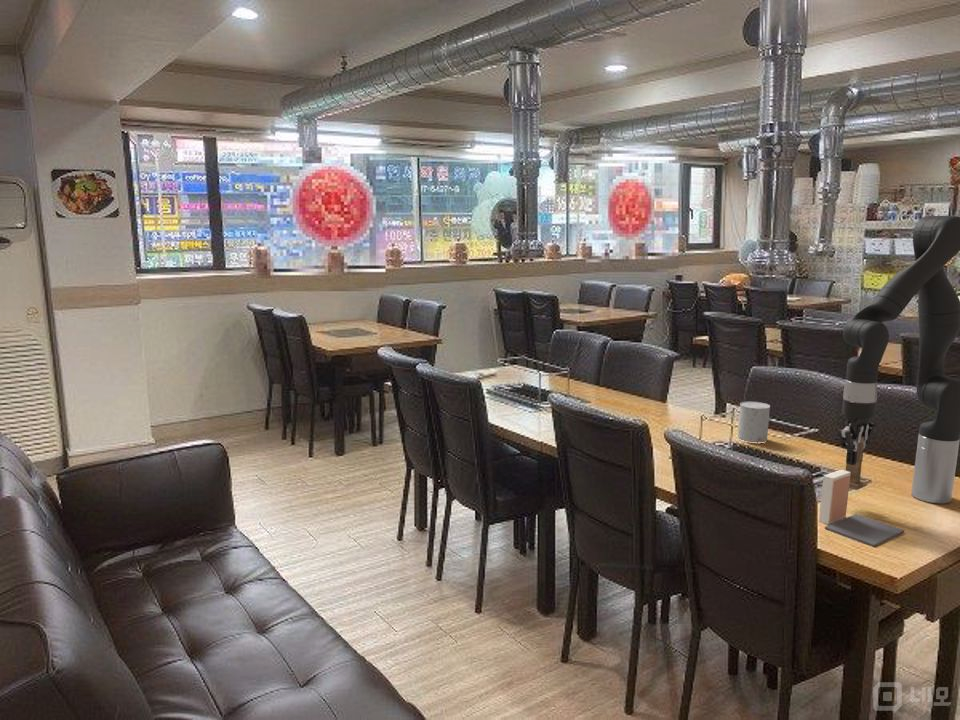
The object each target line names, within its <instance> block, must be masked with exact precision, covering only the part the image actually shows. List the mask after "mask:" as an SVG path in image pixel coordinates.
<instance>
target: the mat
mask: <svg viewBox="0 0 960 720" xmlns="http://www.w3.org/2000/svg"><path fill="white" fill-rule="evenodd" d="M824 530H828V531H829V532H832V533H835V534H839V535H841V536H843V537H846V538H848V539H852V540H854V541H857V542H860V543H862V544H865V545H868V546H871V547H873V548H875V547H876V546H878V544H879V545H880V544H883V543H884V542H887V541H890V540H891V539H893V538H895V537H897V536H900V535H902V534H904V533H905V530H904V529H901V528H899V527H896V526H892V525H890V524H886V523H884V522H881V521H877V520H876V519H872V518H870V517H867V516H863V515H861V514H858V513H854V514H853V515H850V516H848V517H845V518H843V519H841V520H838V521H836V522H834V523H831V524H829V525H826V526H824Z"/></svg>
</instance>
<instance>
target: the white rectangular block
mask: <svg viewBox="0 0 960 720" xmlns="http://www.w3.org/2000/svg"><path fill="white" fill-rule="evenodd" d="M850 474H851V472H848V471H846V469H845V470H844V469H839V470H836V471H832V472H831V473H828V474H824V475H823V477H822V486H821V497H820V498H821V499H820V506H819V507H820V508H819V516H818V522H819V523H822V524H825V525H826V526H828V525H831V524H833V523H835V522H838V521H840V520H842V519H845V518H847V517H846V516H847V510H848V509H847V508H848V501H849V490H850V488H849V483H850Z"/></svg>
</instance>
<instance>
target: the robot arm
mask: <svg viewBox="0 0 960 720" xmlns="http://www.w3.org/2000/svg"><path fill="white" fill-rule="evenodd" d="M912 246H913V254H914V262H912V263H911V264H910V265H908V266H907V267H905V268H903V269H902V270H901V271H899V272H898V273H896V274H894V275H893V276H892V277H891V278H890V279H889V280H888V281H887V282H886V283H884V285H883V286H882V288H881V289H880V290H879V292H878V293H876V295H875V296H874V298H873V299H872V301H870V303H868V304H867V305H865V306H864V307H862V308H861V309H860V310H859V311H857V312H856V313H855V314H854V315H853V316H852V317H851V318H850V319H849V320H848V321H847V322H846V324H845V326H844V328H843V331H842V336H843V340H844V342H845V343H847V344H848V345H850V346H854V347H857V348H861V351H860V354H859V355H858V356H857V355H856V356H852V357H850V358H849V359H848V360H847V364H846V365H847V366H846V374H845V381H844V382H845V383H844V388H843V396H842V397H843V398H842V407H841V414H842V415H843V416H844V417H846V421H845V424H844V425H845V426H844V428H843V429H842V428H841V429H840V428H839V429H838V436H839V441H840V445H841V448H842V449H843V450H846V458H845V463H847V464H850V465H855V464H856V455H857V446H858V443H860V441H861V437H862V436H863V437H864V440H863V441H864V443H863V450H864V449H865V448H866V446H869V444H870V443H871V439H872V436H873V433H874V430H875V427H876V423H875V422H871V421H870V420H872V419H874V418H875V417H876V412H877V410H876V409H877V401H878V400H877V398H878V378H879V377H878V376H879V367H880V365H881V364H880V363H882V360H883V357H884V354H885V352H886V349H887V346H888V344H889V340H890V334H889V329H888V327H887V326H886V325H885V324H884V322H891V321H894V320H896V319H897V318H898V317H899V316H900V315H901V314H902V313H903V311H904V310H905V308H906V307H908V305H909V304H910V302H911V301H912V299H913V298H914V297H915V295H916V294H917V295H918V308H917V309H918V310H917V311H918V331H919V332H918V333H919V336H918V337H919V340H918V341H919V344H918V345H919V347H918V349H919V350H918V354H919V355H918V357H919V358H918V367H917V368H918V369H917V377H916V378H917V379H916V397H917V401H918V402H919V404H920V405H922V406H923V407H925V408H928V409H931V410H932V411H933V410H934V411H936V416H935V419H934V420H933V421H932V420H930V421H925V422H922V423H921V424H920V425H919V427H918V428H919V430H918V437H917V446H916V452H915V453H916V454H915V462H914V469H913V470H914V471H913V476H912V487H911V496H912V497H914V498H915V499H918V500H920V501H923V502H927V503H931V504H949V503H951V502H952V498H953V497H952V496H953V491H954V484H955V476H956V469H957V462H958V461H957V460H958V454H959V446H960V379H956V378H952V377H949V376H946V375H945V358H946V354H947V353H948V351H949V349H950V347H951V346H952V344H953V343H954V342H955V340H956V339H957V338H958V335H959V333H960V299H959V296H958V294H957V292H956V290H955V287H954V286H953V285H952V283H951V281H950V280H949V278H948V276H947V274H946V272H945V269H944V266H945V265H947V263H949V262H950V261H951V260H952V259H953V258H954V257H955V256H956V255H957V254H959V252H960V216H958V215H928V216H927V215H926V216H923V217H921V218H920V219H919V220H918V221H917V222H916V224H915V225H914V229H913V232H912ZM852 437H854V438H856V439H853V438H852ZM853 442H854V445H853ZM863 458H864V453H863V454H862V461H863Z"/></svg>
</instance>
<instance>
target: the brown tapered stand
mask: <svg viewBox="0 0 960 720" xmlns="http://www.w3.org/2000/svg"><path fill="white" fill-rule="evenodd" d="M852 438H853V439H856V438H854V437H852ZM863 440H864V437H863V436H862V437H861V441H860V443H858V446H857V455H856V464H855V465H850V464H847V463H846V462H845V463H846V464H845V471H848V472H851V474H850V483H849V489H851V490H854V491H858V490H860V489H863V488H865V487H867V486H868V481H867V480H864V479H861V474H862V473H861V472H862V462H863V460H862V454H863V455H864V449H863V443H864V441H863ZM853 445H854V442H853Z"/></svg>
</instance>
